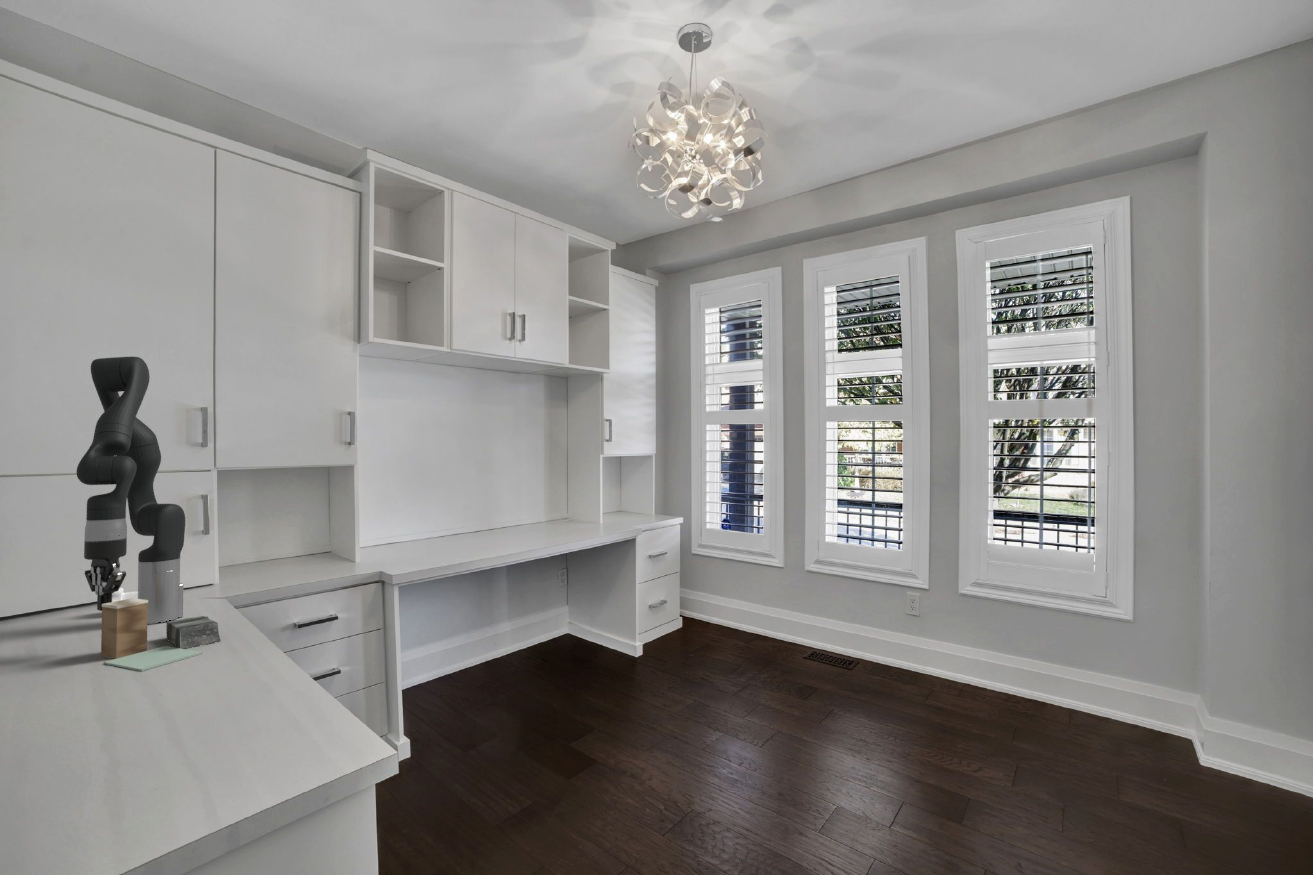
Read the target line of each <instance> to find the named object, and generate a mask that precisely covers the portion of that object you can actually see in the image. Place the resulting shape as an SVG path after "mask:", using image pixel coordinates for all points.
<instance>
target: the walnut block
mask: <svg viewBox="0 0 1313 875" xmlns="http://www.w3.org/2000/svg"><path fill="white" fill-rule="evenodd" d="M147 617H148V600H143V599H135V598H131V599H126V600H121V601H115V602H110V603H105V604H102V611H101V635H100V636H101V643H100V644H101V645H100V657H104V658H109V659H113V660H114V659H117V658H121V657H125V656H129V655H132V654H136V653H140V652H144V651H148V624H147Z"/></svg>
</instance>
